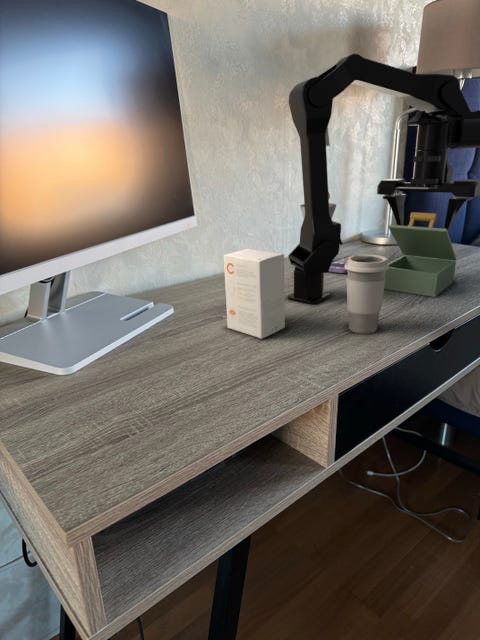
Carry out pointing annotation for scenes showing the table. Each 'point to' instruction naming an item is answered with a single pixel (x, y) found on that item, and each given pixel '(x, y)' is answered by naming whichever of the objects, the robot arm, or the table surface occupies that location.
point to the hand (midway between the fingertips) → (422, 230)
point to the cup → (365, 291)
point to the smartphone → (339, 265)
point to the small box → (255, 292)
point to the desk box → (419, 275)
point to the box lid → (423, 238)
